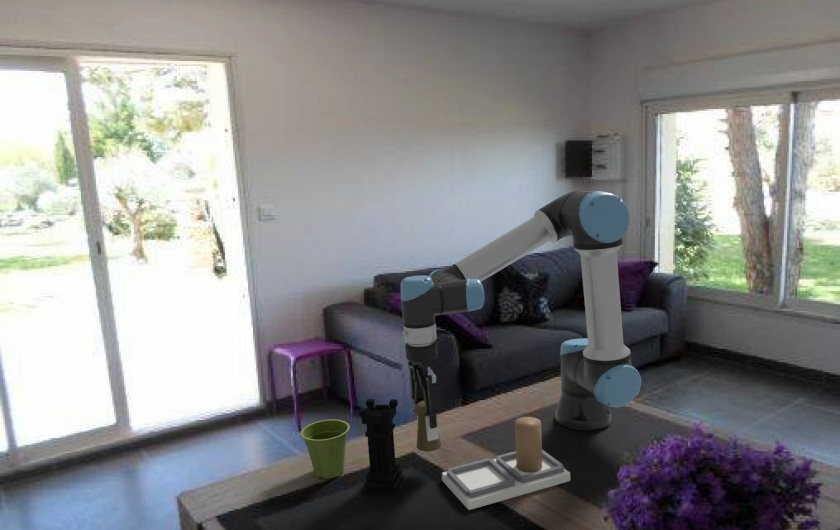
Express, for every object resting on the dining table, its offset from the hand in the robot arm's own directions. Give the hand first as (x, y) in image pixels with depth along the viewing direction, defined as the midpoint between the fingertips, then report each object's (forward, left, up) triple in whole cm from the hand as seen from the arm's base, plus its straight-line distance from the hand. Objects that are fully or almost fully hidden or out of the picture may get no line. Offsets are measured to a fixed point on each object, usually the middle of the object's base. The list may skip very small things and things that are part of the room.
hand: (428, 434), depth 148 cm
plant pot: (+23, -11, -9) cm, 27 cm away
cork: (0, 0, -3) cm, 3 cm away
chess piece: (+13, +2, -9) cm, 16 cm away
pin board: (-13, +13, -9) cm, 21 cm away
